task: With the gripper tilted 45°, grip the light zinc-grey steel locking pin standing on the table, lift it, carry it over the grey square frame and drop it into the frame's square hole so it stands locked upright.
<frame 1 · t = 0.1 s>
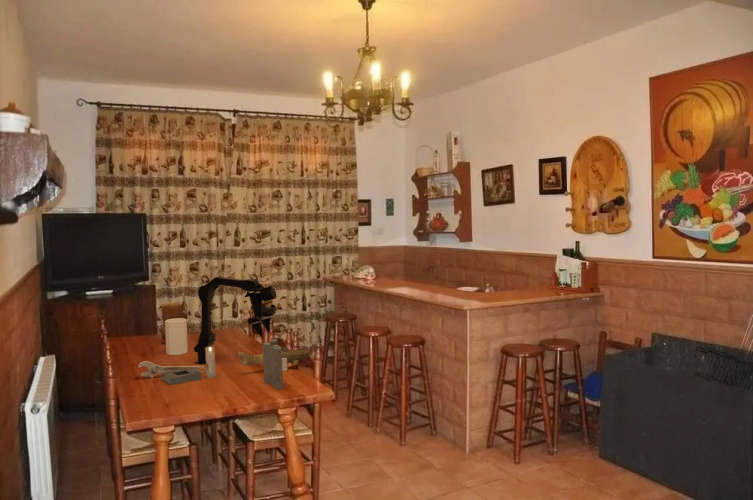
hand: (265, 333, 296), 15 cm above the table, tool pointing down, fingers open, 9 cm apart
grey square frame: (181, 379, 273), on the table
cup: (177, 353, 327), on the table
locking pin: (211, 376, 276), on the table
hip flask: (274, 385, 260), on the table
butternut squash: (173, 343, 355), on the table
wrench: (172, 376, 280), on the table
wood carving: (275, 370, 285), on the table
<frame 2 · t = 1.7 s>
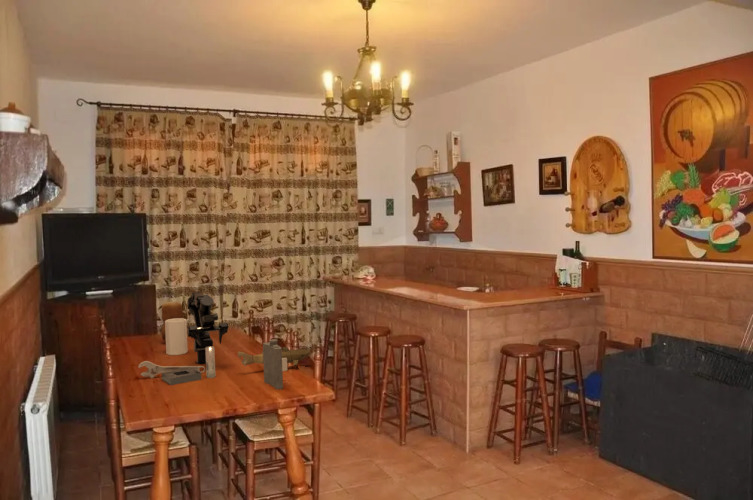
hand: (210, 344, 283), 14 cm above the table, tool tilted 45°, fingers open, 9 cm apart
nothing on the table moved.
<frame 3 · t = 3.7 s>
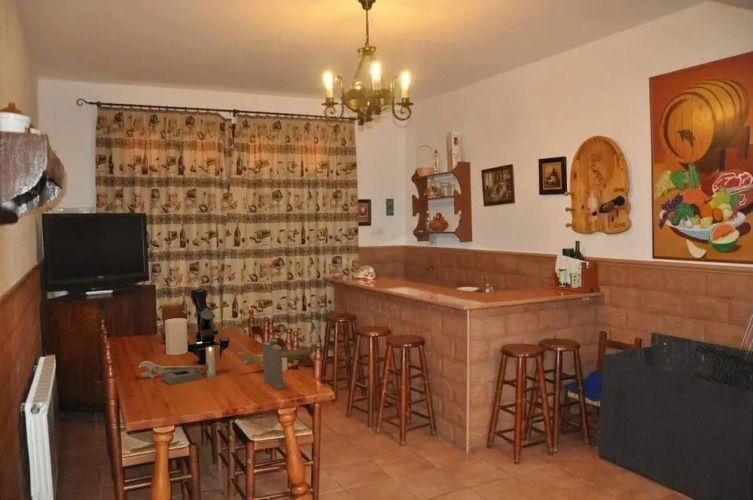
hand: (210, 359, 275), 8 cm above the table, tool tilted 45°, fingers open, 9 cm apart
nothing on the table moved.
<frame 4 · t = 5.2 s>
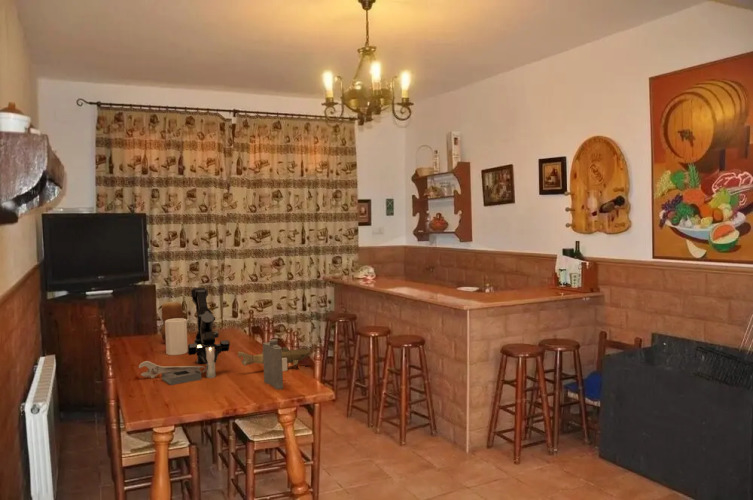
hand: (210, 362, 274), 7 cm above the table, tool tilted 45°, fingers closed on locking pin, 4 cm apart
locking pin: (211, 376, 276), on the table, touching gripper
everything else where it was.
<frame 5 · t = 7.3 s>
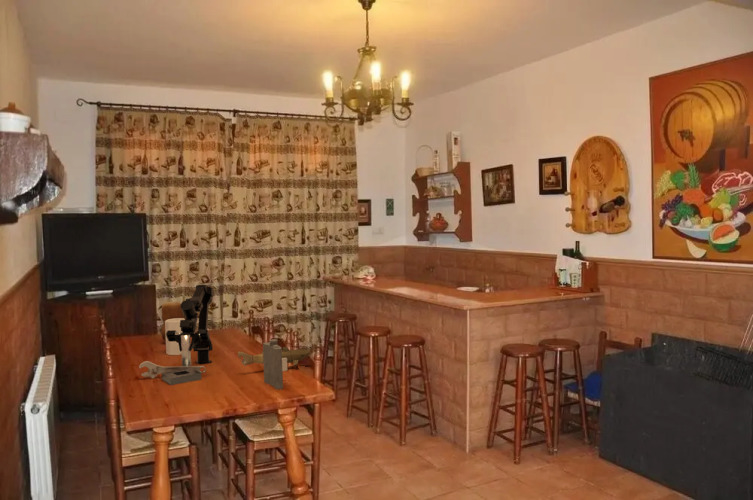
hand: (185, 350, 271), 13 cm above the table, tool tilted 45°, fingers closed on locking pin, 4 cm apart
locking pin: (186, 365, 272), point 6 cm above the table, touching gripper
everything else where it was.
when the fingers open (9 cm above the table, at t = 9.3 s): locking pin drops 2 cm, resting in grey square frame.
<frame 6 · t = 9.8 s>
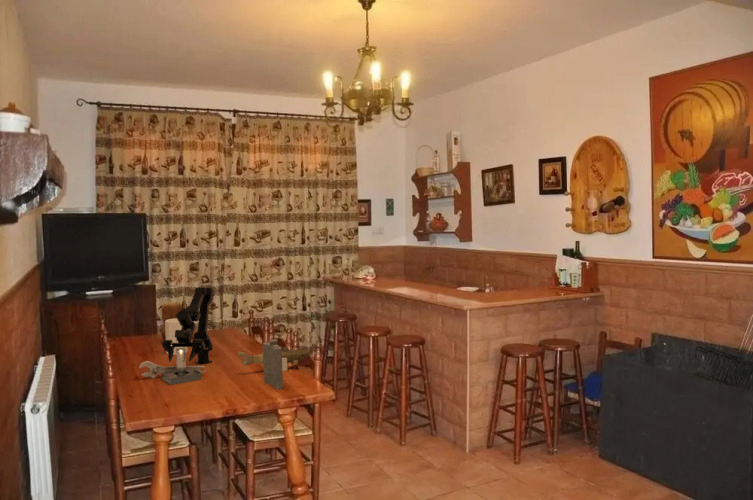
hand: (179, 360, 271), 9 cm above the table, tool tilted 45°, fingers open, 9 cm apart
locking pin: (181, 379, 273), resting in grey square frame
everything else where it was.
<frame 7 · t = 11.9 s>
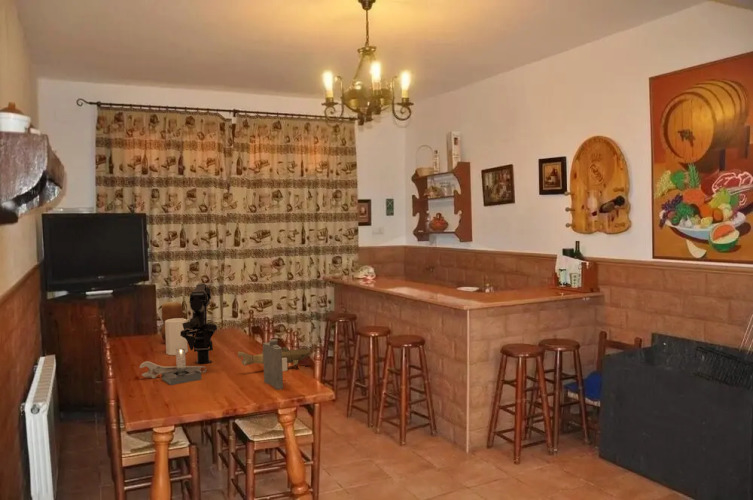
hand: (198, 348, 282), 12 cm above the table, tool tilted 25°, fingers open, 9 cm apart
nothing on the table moved.
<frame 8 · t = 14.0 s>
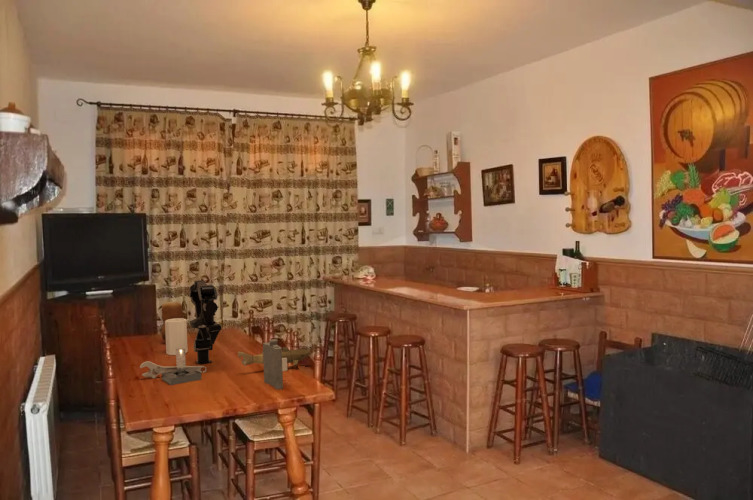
hand: (208, 343, 289), 13 cm above the table, tool pointing down, fingers open, 9 cm apart
nothing on the table moved.
at the end: locking pin 0.0 cm off-centre on the grey square frame, point 0.0 cm above the grey square frame's base; locking pin tilted 0°; the gripper is holding nothing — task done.
